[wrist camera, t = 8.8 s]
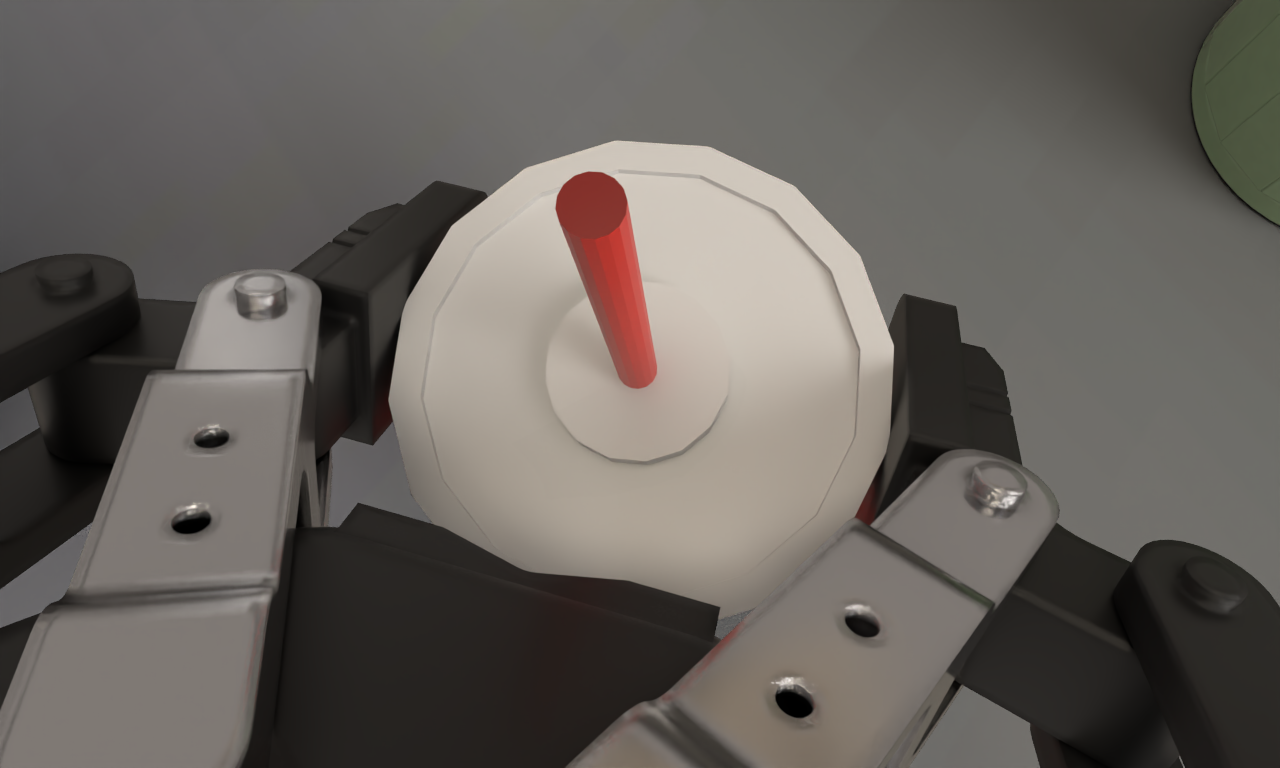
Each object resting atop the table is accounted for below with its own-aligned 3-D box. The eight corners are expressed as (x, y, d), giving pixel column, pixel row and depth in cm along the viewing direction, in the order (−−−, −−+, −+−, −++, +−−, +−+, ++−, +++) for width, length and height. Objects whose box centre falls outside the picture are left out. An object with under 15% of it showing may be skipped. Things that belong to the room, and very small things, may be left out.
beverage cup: (857, 519, 19) (1286, 389, 5) (604, 658, 19) (359, 904, 5) (717, 280, 20) (769, -327, 7) (479, 407, 20) (6, 50, 6)
